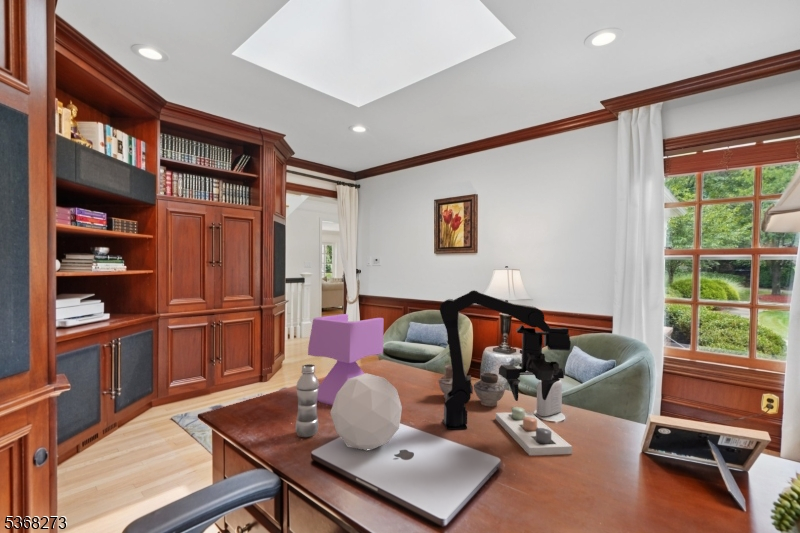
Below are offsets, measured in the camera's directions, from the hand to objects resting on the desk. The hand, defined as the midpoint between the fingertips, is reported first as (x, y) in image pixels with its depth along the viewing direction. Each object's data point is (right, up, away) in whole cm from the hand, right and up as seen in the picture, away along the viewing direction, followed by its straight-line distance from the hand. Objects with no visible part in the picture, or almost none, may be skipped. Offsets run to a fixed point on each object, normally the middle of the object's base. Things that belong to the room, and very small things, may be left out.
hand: (530, 400), depth 110 cm
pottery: (-13, -11, +27) cm, 32 cm away
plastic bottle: (-67, -9, -5) cm, 67 cm away
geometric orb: (-49, -9, -10) cm, 51 cm away
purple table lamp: (-60, -9, +27) cm, 67 cm away
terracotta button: (0, -8, -1) cm, 9 cm away
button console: (-1, -10, -1) cm, 10 cm away
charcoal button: (0, -8, -9) cm, 12 cm away
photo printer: (+12, -11, +17) cm, 23 cm away
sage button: (-1, -9, +7) cm, 11 cm away
